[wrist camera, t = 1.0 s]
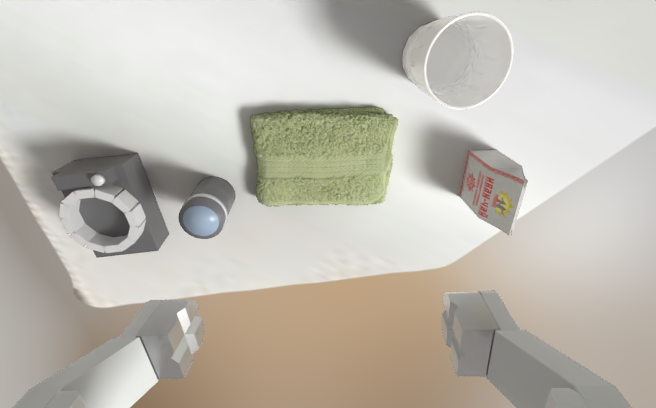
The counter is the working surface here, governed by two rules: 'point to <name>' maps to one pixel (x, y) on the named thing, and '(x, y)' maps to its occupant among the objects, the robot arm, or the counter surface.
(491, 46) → the white cup
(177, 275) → the counter surface
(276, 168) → the washcloth
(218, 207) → the lens
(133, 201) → the camera body
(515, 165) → the white food carton
